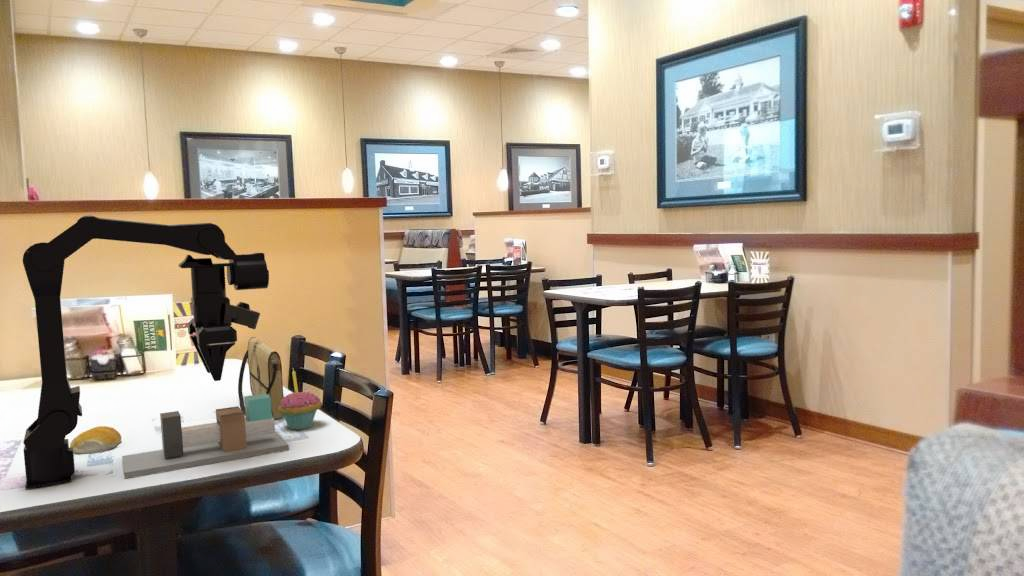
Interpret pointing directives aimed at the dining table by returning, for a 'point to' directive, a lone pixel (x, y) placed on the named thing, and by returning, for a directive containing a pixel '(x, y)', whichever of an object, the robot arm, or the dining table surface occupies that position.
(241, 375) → the shoulder bag
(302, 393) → the cupcake
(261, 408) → the block
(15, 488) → the dining table surface
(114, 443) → the bread roll
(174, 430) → the grey long block
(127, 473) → the guide
